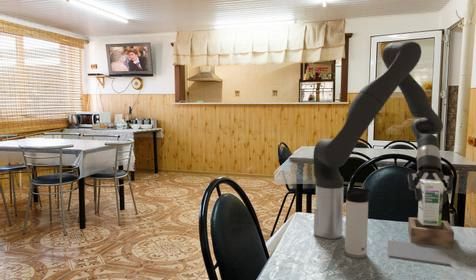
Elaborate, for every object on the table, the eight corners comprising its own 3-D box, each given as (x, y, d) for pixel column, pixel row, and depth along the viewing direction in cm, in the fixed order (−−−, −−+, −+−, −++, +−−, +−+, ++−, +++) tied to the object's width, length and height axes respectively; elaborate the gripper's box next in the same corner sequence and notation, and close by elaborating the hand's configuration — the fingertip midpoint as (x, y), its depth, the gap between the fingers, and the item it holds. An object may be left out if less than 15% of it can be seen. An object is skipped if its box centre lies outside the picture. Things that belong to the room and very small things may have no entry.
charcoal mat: (388, 256, 105) (388, 255, 105) (387, 241, 117) (387, 240, 117) (450, 265, 99) (450, 264, 99) (443, 248, 111) (443, 246, 111)
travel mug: (369, 259, 103) (371, 192, 102) (345, 257, 105) (347, 191, 103) (366, 251, 110) (368, 187, 108) (343, 249, 111) (345, 186, 109)
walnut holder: (410, 242, 116) (411, 227, 116) (408, 230, 127) (408, 217, 127) (453, 248, 112) (454, 232, 111) (446, 235, 123) (447, 221, 122)
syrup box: (422, 225, 117) (424, 181, 115) (417, 219, 123) (419, 178, 121) (441, 226, 116) (444, 182, 114) (435, 221, 121) (438, 179, 120)
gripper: (407, 153, 126) (408, 193, 117) (454, 155, 121) (458, 197, 111) (405, 165, 132) (406, 204, 122) (450, 168, 127) (454, 209, 117)
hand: (431, 201), depth 117 cm, fingers closed on syrup box, 6 cm apart
